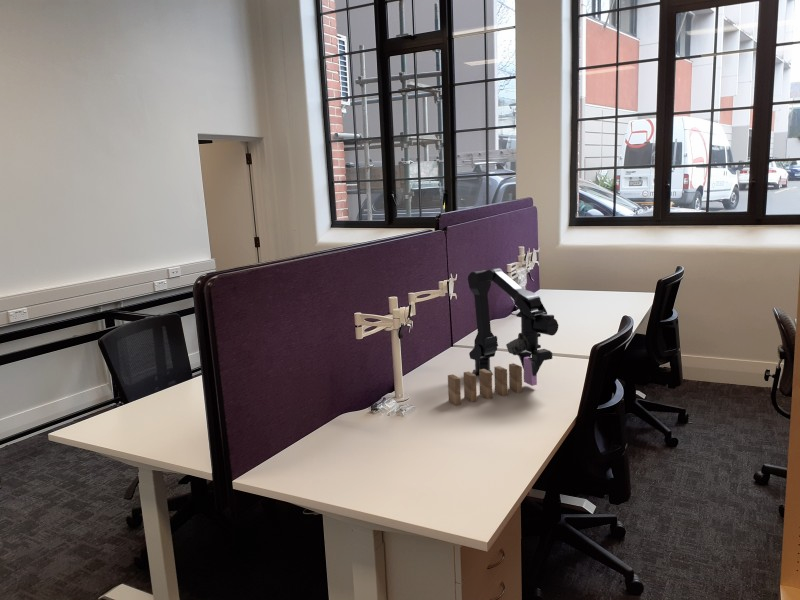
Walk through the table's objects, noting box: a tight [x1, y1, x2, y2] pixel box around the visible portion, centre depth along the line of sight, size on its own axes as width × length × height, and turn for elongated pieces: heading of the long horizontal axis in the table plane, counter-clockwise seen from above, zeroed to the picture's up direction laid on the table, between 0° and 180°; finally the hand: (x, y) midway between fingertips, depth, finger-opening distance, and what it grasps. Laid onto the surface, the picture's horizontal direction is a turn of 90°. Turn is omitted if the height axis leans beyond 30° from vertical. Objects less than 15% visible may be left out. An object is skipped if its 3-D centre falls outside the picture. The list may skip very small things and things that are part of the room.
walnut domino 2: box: [463, 371, 478, 403], centre depth 206 cm, size 2×5×9 cm, turn 23°
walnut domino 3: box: [478, 369, 493, 400], centre depth 208 cm, size 2×5×9 cm, turn 23°
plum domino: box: [523, 357, 538, 387], centre depth 215 cm, size 2×5×9 cm, turn 23°
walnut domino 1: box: [447, 374, 462, 406], centre depth 204 cm, size 2×5×9 cm, turn 23°
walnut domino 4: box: [493, 365, 508, 397], centre depth 210 cm, size 2×5×9 cm, turn 23°
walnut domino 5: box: [508, 362, 523, 394], centre depth 213 cm, size 2×5×9 cm, turn 23°
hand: (530, 373), depth 215 cm, fingers closed on plum domino, 5 cm apart
